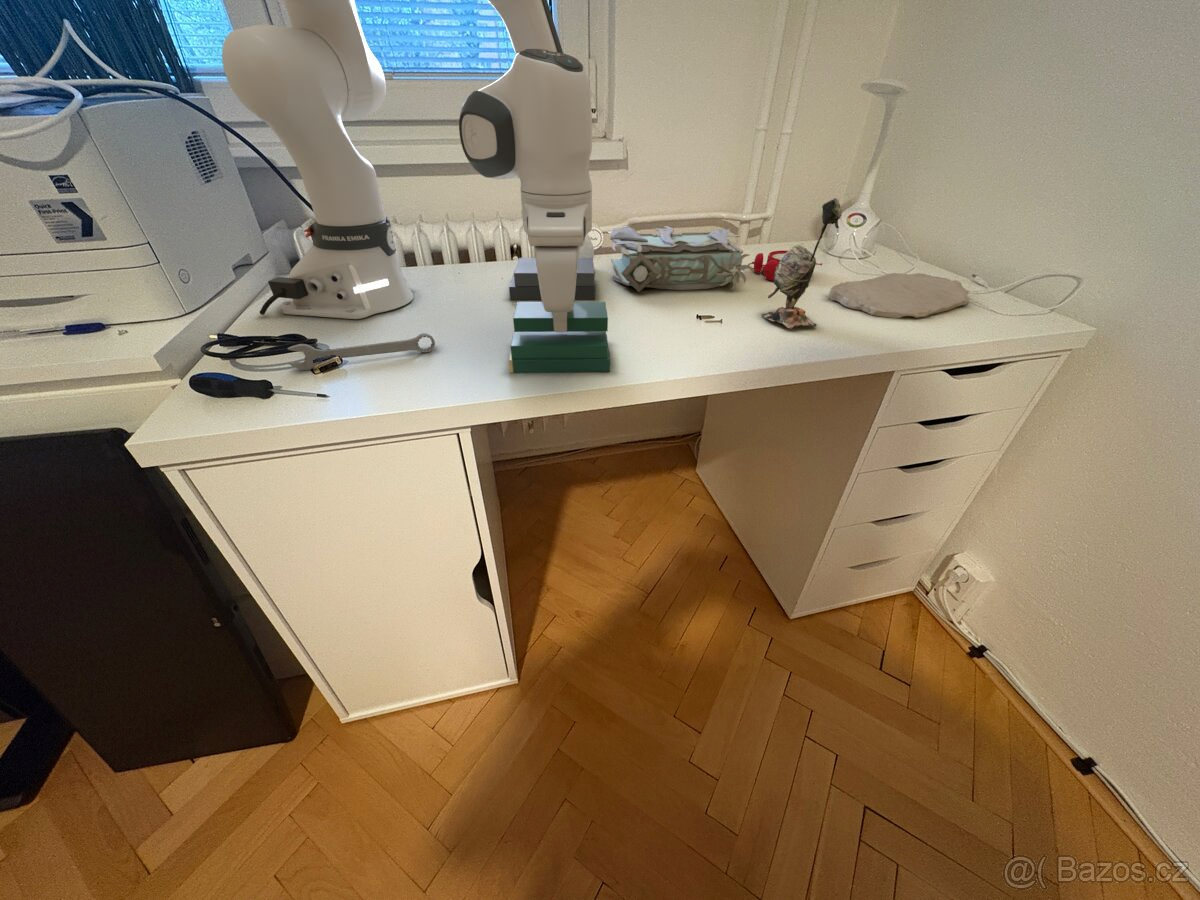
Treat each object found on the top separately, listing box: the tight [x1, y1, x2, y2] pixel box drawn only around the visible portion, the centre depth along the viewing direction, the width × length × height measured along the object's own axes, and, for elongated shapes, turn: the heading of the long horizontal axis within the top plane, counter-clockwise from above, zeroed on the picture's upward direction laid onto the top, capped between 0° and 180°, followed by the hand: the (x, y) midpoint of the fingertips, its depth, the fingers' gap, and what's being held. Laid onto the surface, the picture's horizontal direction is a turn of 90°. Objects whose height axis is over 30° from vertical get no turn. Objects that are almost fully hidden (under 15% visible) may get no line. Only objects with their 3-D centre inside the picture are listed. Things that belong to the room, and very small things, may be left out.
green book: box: [512, 301, 609, 333], centre depth 69 cm, size 13×6×2 cm, turn 93°
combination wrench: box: [287, 332, 436, 371], centre depth 71 cm, size 4×1×20 cm
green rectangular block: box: [508, 331, 611, 374], centre depth 72 cm, size 14×9×4 cm, turn 93°
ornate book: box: [606, 225, 754, 293], centre depth 103 cm, size 23×10×30 cm
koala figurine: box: [578, 233, 595, 259], centre depth 106 cm, size 8×7×12 cm
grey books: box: [508, 257, 596, 301], centre depth 96 cm, size 16×11×5 cm
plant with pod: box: [761, 197, 843, 329], centre depth 81 cm, size 8×11×20 cm
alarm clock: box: [747, 250, 823, 282], centre depth 106 cm, size 10×6×15 cm
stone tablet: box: [828, 272, 970, 319], centre depth 95 cm, size 16×30×2 cm, turn 115°
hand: (561, 319), depth 69 cm, fingers closed on green book, 6 cm apart
